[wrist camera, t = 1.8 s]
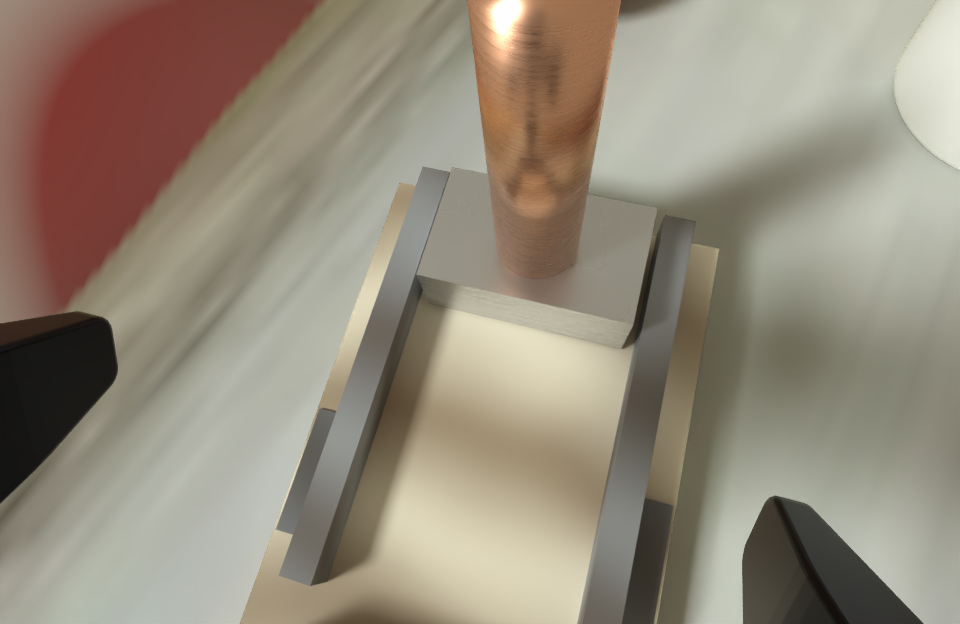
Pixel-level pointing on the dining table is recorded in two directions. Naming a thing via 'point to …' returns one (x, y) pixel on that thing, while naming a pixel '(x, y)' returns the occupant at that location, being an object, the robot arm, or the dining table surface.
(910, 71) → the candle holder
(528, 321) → the press jaw
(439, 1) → the dining table surface
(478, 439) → the press frame
